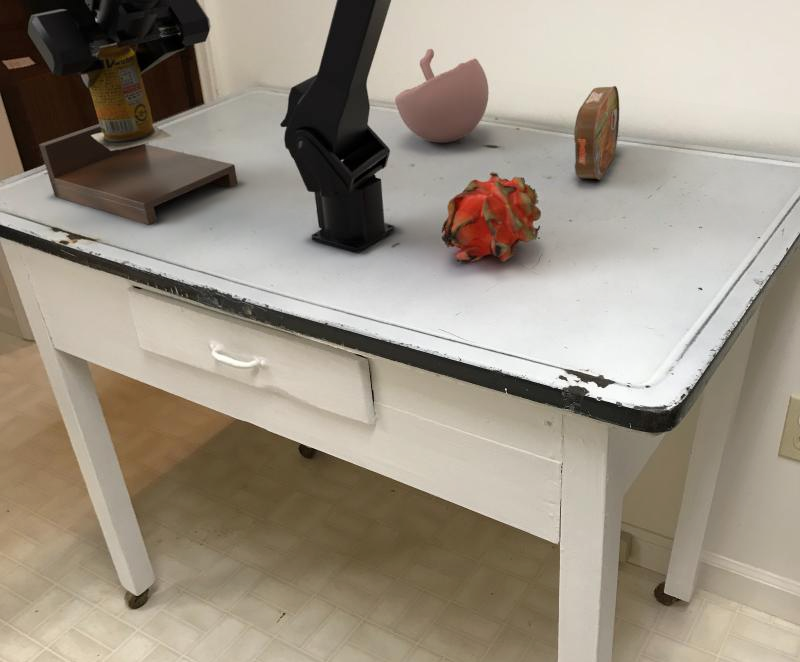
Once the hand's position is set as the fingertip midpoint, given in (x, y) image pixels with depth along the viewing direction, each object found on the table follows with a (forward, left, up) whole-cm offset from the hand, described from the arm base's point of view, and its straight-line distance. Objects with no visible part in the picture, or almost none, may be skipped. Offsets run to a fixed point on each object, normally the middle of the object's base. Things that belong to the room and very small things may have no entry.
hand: (112, 77), depth 99 cm
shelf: (-2, 0, -13) cm, 13 cm away
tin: (-46, -32, -13) cm, 58 cm away
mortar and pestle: (-24, -32, -13) cm, 42 cm away
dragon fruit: (-48, -5, -13) cm, 50 cm away
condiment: (-1, 0, -7) cm, 7 cm away
